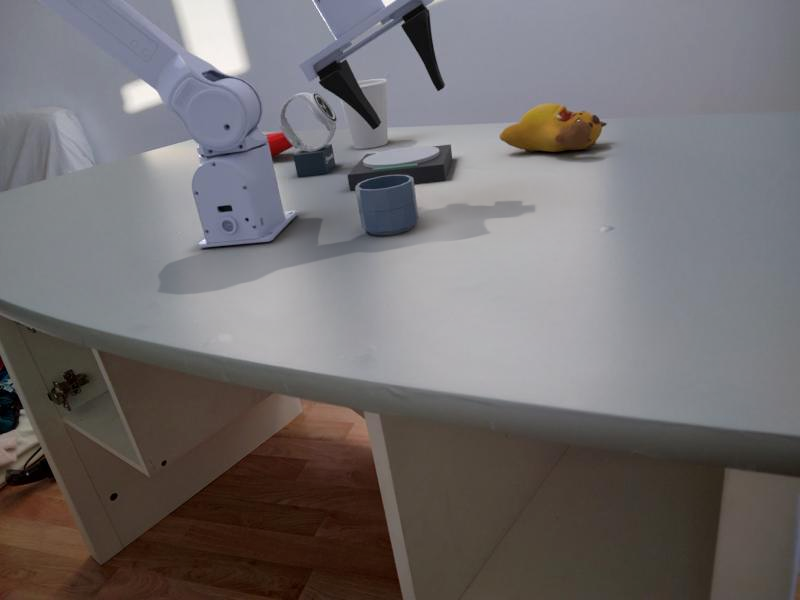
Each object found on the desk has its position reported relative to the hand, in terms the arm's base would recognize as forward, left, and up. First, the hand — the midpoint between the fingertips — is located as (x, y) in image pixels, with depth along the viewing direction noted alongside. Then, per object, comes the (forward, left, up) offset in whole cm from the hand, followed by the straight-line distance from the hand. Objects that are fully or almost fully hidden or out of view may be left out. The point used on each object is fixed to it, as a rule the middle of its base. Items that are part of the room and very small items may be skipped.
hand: (408, 107), depth 66 cm
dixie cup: (+39, +13, -10) cm, 43 cm away
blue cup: (-8, +2, -10) cm, 13 cm away
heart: (+37, +31, -10) cm, 50 cm away
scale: (+15, +4, -10) cm, 19 cm away
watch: (+23, +18, -10) cm, 31 cm away
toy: (+19, -16, -10) cm, 27 cm away
